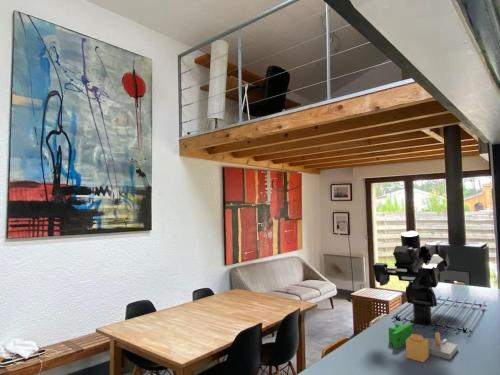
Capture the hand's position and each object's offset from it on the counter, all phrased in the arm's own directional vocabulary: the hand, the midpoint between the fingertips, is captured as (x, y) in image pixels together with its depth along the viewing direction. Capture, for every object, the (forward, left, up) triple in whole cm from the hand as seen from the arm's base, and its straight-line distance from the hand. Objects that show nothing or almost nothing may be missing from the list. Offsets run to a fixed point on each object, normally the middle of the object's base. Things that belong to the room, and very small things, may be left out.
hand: (395, 285), depth 103 cm
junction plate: (-4, +10, -18) cm, 21 cm away
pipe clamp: (-3, -1, -18) cm, 18 cm away
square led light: (+4, +7, -18) cm, 19 cm away
